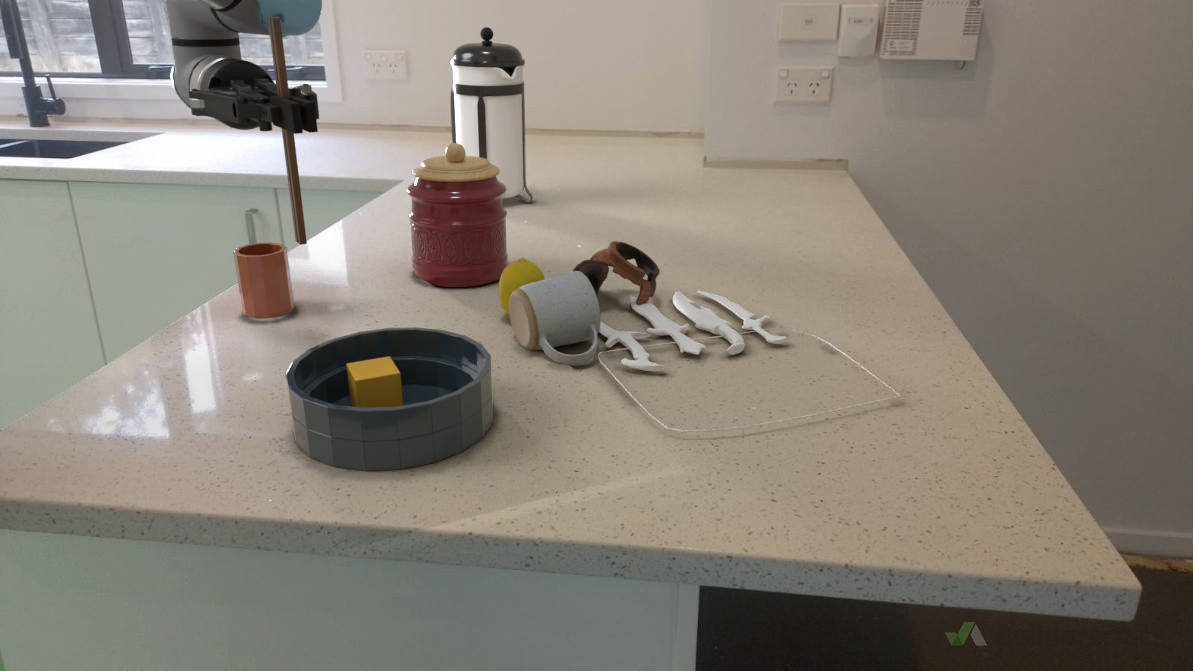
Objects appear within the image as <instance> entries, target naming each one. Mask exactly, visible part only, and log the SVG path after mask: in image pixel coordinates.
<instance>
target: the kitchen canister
mask: <svg viewBox="0 0 1193 671" xmlns="http://www.w3.org/2000/svg"><path fill="white" fill-rule="evenodd" d="M499 172H500V170H499V168H498V167H496V166H494V165H492V164H491V163H489V161H488V160H487V159H484V158H481V157H475V156H466V153H465V149H464V147H463V146H462V145H461V144H458V143H453V142H452V143H449V144H448V145H447V146H446V147H445V151H444V155H442V156H433V157H429V158H426V159H424V160H423V161H422V162H421V163H420V164H419V165H417V166H416V167H414V168H413V169H412V170H411V174H412V175H413V176H414V177H415V178H414V179H415V180H414V182H412V183H411V184H409V185H408V186H407V188H406V194H408V195H409V196H410V197H411V209H410V210H409V212H408V218H409V221H410V237H411V253H412V255H411V266H412V267H411V268H412V269H413V272H414V273H413V274H414V275H415V277H417V278H419V280H423V281H425V282H427V283H428V284H430V285H432V286H438V287H447V288H465V287H474V286H475V287H476V286H481V285H485V284H490V283H494V282H496V281H498V280H500V277H501V275H502V272H503V271H504V269H505V268H506V267H507V266H508V265H509V260H508V259H509V253H508V250H507V220H506V219H507V215H508V211H507V210H506V208H505V207H504V199H502V196H503V194H504V193H505V192H506V186H505V185H504V184H503V183H501V182H500V181H498V179H497V177H496V175H498V174H499Z"/></svg>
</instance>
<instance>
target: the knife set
mask: <svg viewBox="0 0 1193 671" xmlns="http://www.w3.org/2000/svg"><path fill="white" fill-rule="evenodd" d="M696 293H698V294H700V295H702V296H705V297H706V298H709V299H711V300H713V301H715V302H717V303H719V304H720V305H721V306H723V307H725V308H726V309H728V310H729V311H731V312H732V313H733V314H734V315H736V317H738V318H740V319H741V320H742V321H743V325H742V326H741V329H743V330H747V331H743V332H738V331H737V330H735V329H734V328H732V327H733V323H732V322H731V321H728V320H726V319H723V318H721V317H719V316H718V315H717V313H716V312H715V310H713V309H711V308H710V307H704V306H698V304H697V302H695V301H693V300H692V299H690V298H689V297H688V296H686V295H685V294H684V293H683V292H681V290H676V291H675V292H674V295H673V297H672V303H673V305H674V307H675V308H676V309H677V310H678V311H679V312H680V313H681V314H683V315H684V316H686V318H688V319H689V320H690V321H692V322H693V323H694V327H695V328H696V329H699V330H702V331H706V332H709V333H711V334H714V335H716V336H707V337H701V338H693V339H692V338H690V337H688V336H687V335H685V334H684V333H685V332H686V331H688V330H689V328H690V324H689V323H688V322H686V323H685V324H683V325H682V324H678V323H676V322H675V321H673V320H671V319H669V318H668V317H666V316H665V315H663V314H662V312H661V311H660V309H659V308H657V306H656V305H654V304H653V303H650V302H649V301H648V302H647V303H644V304H641V305H637V304H636V300H637V298H638V297H635V296H632V295H630V296H629V302H630V306H631V308H632V310H633V311H634V312H636V313H637V314H639V315H640V316H642V317H643V318H644V319H646V320H647V321H649V323H650V324H651V325H652V326H653V327H648V328H647V329H646V332H640V331H635V330H634V331H632V330H627V331H626V330H620V331H619V330H617V329H614V328H612V327H610V326H609V325H607V324H606V323H605V322H603V321H602V320H600V330H599V334H600V335H602V336H603V337H605V338H607V340H606V341H605V343H604V345H605V347H606V348H612V347H613V346H614V345H616V344H618V343H620V344H622V345H623V346H624V348H618V349H610V350H606V351H604V353H610V352H618V351H624V350H625V351H626V350H629V351H630V352H631V354H632V357H633V359H629V358H627V357H624V358H622V359H621V361H620V363H621V364H622V365H623V366H625V367H628V368H631V369H635V370H639V371H645V372H662V371H663V370H665V369H666V366H665V365H663V364H659V363H657V362H652V361H650V359H649V358H650V356H651V355H650V353H648V352H647V350H646V349H645V348H648V347H657V346H666V345H674V344H677V345H678V347H679V352H680V354H683V353H688V354H693V355H697V356H699V355H700V353H701V351H705V350H706V349H707V346H706V345H705V344H703V343H700V342H697V341H702V340H711V339H717V338H724V339H725V340H726V341H728V342H729V343H730V344H731V345H730V346H729V347H728V348H727V349H726V353H727V354H729V355H731V356H734V355H737V354H740V353H741V352H743V351H744V349H745V348H746V343H745V340H744V338H743V336H742V335H743V334H750V333H758V334H759V335H760V336H762V337H763V338H764V339H765V341H766V342H767V343H770V344H773V345H775V344H776V345H779V344H784V343H785V342H787V340H788V336H782V335H772V334H771V333H769V332H768V331H771V330H785V331H793V332H798V333H803V334H805V335H806V334H807V335H809V336H811V337H814V338H816V339H818V340H820V341H822V342H824V343H826V344H827V345H829V346H831V347H832V348H833V349H835V350H836V351H838V352H839V353H841V354H842V355H844V356H845V357H846V358H848V360H851V361H852V362H853V363H854V364H856V365H857V366H858V367H860V368H861V369H863V370H864V371H865V372H866V373H868V374H870V375H871V376H872V377H874V378H875V379H876V380H877V381H879V382H880V383H881V384H882V385H884V386H885V387H886V388H888V389H889V390H890V391H892V392H893V393H894V394H895V395H896V396H892V397H887V398H882V399H878V400H872V401H869V402H864V403H860V404H859V403H858V404H854V405H849V406H845V407H840V408H835V409H830V410H826V411H821V412H816V413H811V414H807V415H801V416H795V417H791V418H786V419H780V420H775V421H774V420H773V421H768V422H763V423H762V422H761V423H755V424H749V425H741V426H733V427H723V428H714V429H713V428H712V429H685V430H684V429H679V428H672V427H668V426H667V425H665V424H664V423H663V422H661V421H660V420H659V419H657V418H656V417H654V416H653V415H652V414H651V412H649V411H648V410H647V409H646V408H645V407H644V405H643V404H642V403H640V401H639V400H638V399H637V398H636V397H635V396H634V395H633V394H632V393H631V392H630V391H629V390H628V389H627V388H626V386H625V385H623V383H622V382H621V381H620V380H619V379H618V378H617V377H616V376H615V375H614V373H613V372H612V371H611V370H610V369H609V367H607V365H606V364H605V363H604V362H603V361H602V360H601V358H600V355H601V354H602V353H603V351H599V353H598V354H597V356H598V357H597V358H598V361H599V363H600V364H601V365H602V366H603V368H604V369H605V370H607V372H608V373H609V374H610V375H611V377H613V378H614V379H615V380H616V382H617V383H618V384H619V385H620V386H621V387H622V388H623V390H624V391H625V392H626V393H627V394H628V395H629V396H630V397H631V399H632V400H634V402H636V403H637V404H638V405H639V406H640V408H642V409H643V411H645V413H646V414H647V415H648V416H649V417H650V418H651V419H653V420H654V421H656V422H657V423H658V424H659V425H661V426H662V427H664V428H665V429H666V430H669V431H674V432H680V433H708V432H709V433H712V432H720V431H729V430H740V429H747V428H754V427H761V426H766V425H773V424H779V423H784V422H785V423H786V422H790V421H794V420H799V419H805V418H810V417H815V416H820V415H825V414H830V413H835V412H838V411H843V410H849V409H853V408H858V407H862V406H863V407H864V406H867V405H871V404H877V403H882V402H886V401H890V400H894V399H900V398H901V394H899V393H898V392H897V391H896V390H895V389H893V388H892V387H890V386H889V385H888V384H887V383H886V382H884V381H883V380H881V379H880V378H878V377H877V376H876V375H875V374H873V373H872V372H871V371H869V370H868V369H867V368H866V367H864V366H863V365H861V364H860V363H859V362H857V361H856V360H854V359H853V358H852V357H850V356H849V355H848V354H846V353H845V352H843V350H841V349H839V348H837V347H836V346H835V345H833V344H832V343H830V342H828V341H826V340H825V339H823V338H820V337H818V336H816V335H813V334H810V333H807V332H804V331H800V330H797V329H793V328H788V327H772V328H762V326H763V324H762V323H763V322H765V321H767V320H769V319H770V315H769V314H765V315H764V316H762V317H759V318H755V319H753V317H755V316H756V315H755V313H752V312H750V311H749V310H746V309H745V308H743V307H742V305H741V304H738V303H736V302H733V301H731V300H729V299H728V297H726V296H722V295H720V294H719V295H718V294H715V293H711V292H708V291H703V290H697V291H696ZM651 335H652V336H653V335H654V336H670V337H671V338H672V340H673V341H671V342H664V343H663V342H662V343H656V344H655V343H654V344H648V345H641V344H640V343H639V342H638V341H637V340H636V339H641V340H643V339H646V338H649V337H650V336H651Z"/></svg>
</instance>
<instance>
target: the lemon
mask: <svg viewBox="0 0 1193 671" xmlns="http://www.w3.org/2000/svg"><path fill="white" fill-rule="evenodd" d="M545 279H546V278H545V276H544V273H543V271H542V269H541V268H540V267H539V266H538V265H537V264H536V263H534V262H532V261H530V260H527V259H526V258H525V257H519V258H517V260H514V261H512V262H510V263H508V265H507V267H506V268H505V269H504V271H503V272H502V275H501V277H500V279H499V281H498V289H497V290H498V291H497V292H498V299H499V302H500V306H501V308H502V310H503V311H504V312H505V314H507V316H509V317H510V315H509V299H510V296H511V294H512V292H513V291H514V290H516V289H518V288H520V287H522V286H524V285H526V284H529V283H533V282H537V281H541V280H545Z"/></svg>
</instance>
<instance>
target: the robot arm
mask: <svg viewBox="0 0 1193 671" xmlns="http://www.w3.org/2000/svg"><path fill="white" fill-rule="evenodd" d="M163 1H164V6H165V11H166V16H167V20H168V27H169V32H170V37H171V38H170V40H171V50H172V57H173V59H174V60H173V61H174V63H173V65H172V67H171V70H170V81H171V85H172V89H173V90H174V93H175V95H177V97H178V98H179V99H180V100H181V101H182V102H183V104H184V105H185V106H186V107H187V108H189V109H190V111H191V115H192V116H195V117H207V118H208V117H209V118H212V119H214V120H216V121H218V122H219V123H221V124H223V125H225V126H227V127H228V128H230V129H235V130H240V131H248V130H249V131H250V130H254V129H257V128H259V131H260V132H272V131H273V126H276V127H277V128H280V129H281V130H282V129H285V130H287V131H289V132H292V133H294V135H296V134H298V135H299V134H303V133H304V132H303V131H305V132H308V133H318V132H319V130H318V122H317V121H318V120H319V119H320V110H319V101H318V94H317V93H316V92H315V91H313V88H312V85H311V84H308V83H303V84H300V85H294V86H293V87H291V88H289V87H288V89H289V98H290V100H287V99H284V98H281V97H278V96H277V88H276V82H274V80H273V79H272V77H271V75H270V74H269V73H268V72H267V70H265V69H264V68H262V67H261V66H259V65H258V64H256V63H254V62H251V61H249V60H244V59H242V52H241V42H240V35H239V33H240V34H249V35H260V36H261V35H262V36H270V31H269V23H268V17H276V18H280V22H281V30H282V38H286V37H288V36H289V37H291V36H294V37H295V36H302V35H305V34H308V33H310V32H311V31H312V30H313V29H314V28H315V27H316V25H317V24H318V22H319V20H320V16H321V15H322V14H321V13H322V8H323V0H163Z"/></svg>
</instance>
